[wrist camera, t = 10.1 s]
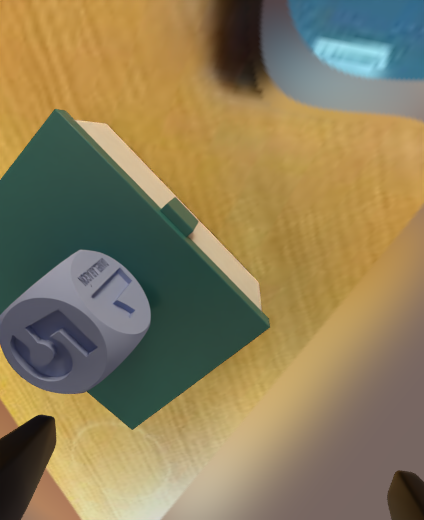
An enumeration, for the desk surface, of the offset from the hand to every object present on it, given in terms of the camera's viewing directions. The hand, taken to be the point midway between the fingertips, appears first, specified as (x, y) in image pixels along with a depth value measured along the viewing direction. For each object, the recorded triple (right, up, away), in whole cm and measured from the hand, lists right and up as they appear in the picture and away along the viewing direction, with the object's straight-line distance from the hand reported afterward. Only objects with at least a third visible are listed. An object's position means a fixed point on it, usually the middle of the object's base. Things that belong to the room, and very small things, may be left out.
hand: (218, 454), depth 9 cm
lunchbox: (-5, +5, +11) cm, 13 cm away
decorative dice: (-5, +3, +7) cm, 9 cm away
